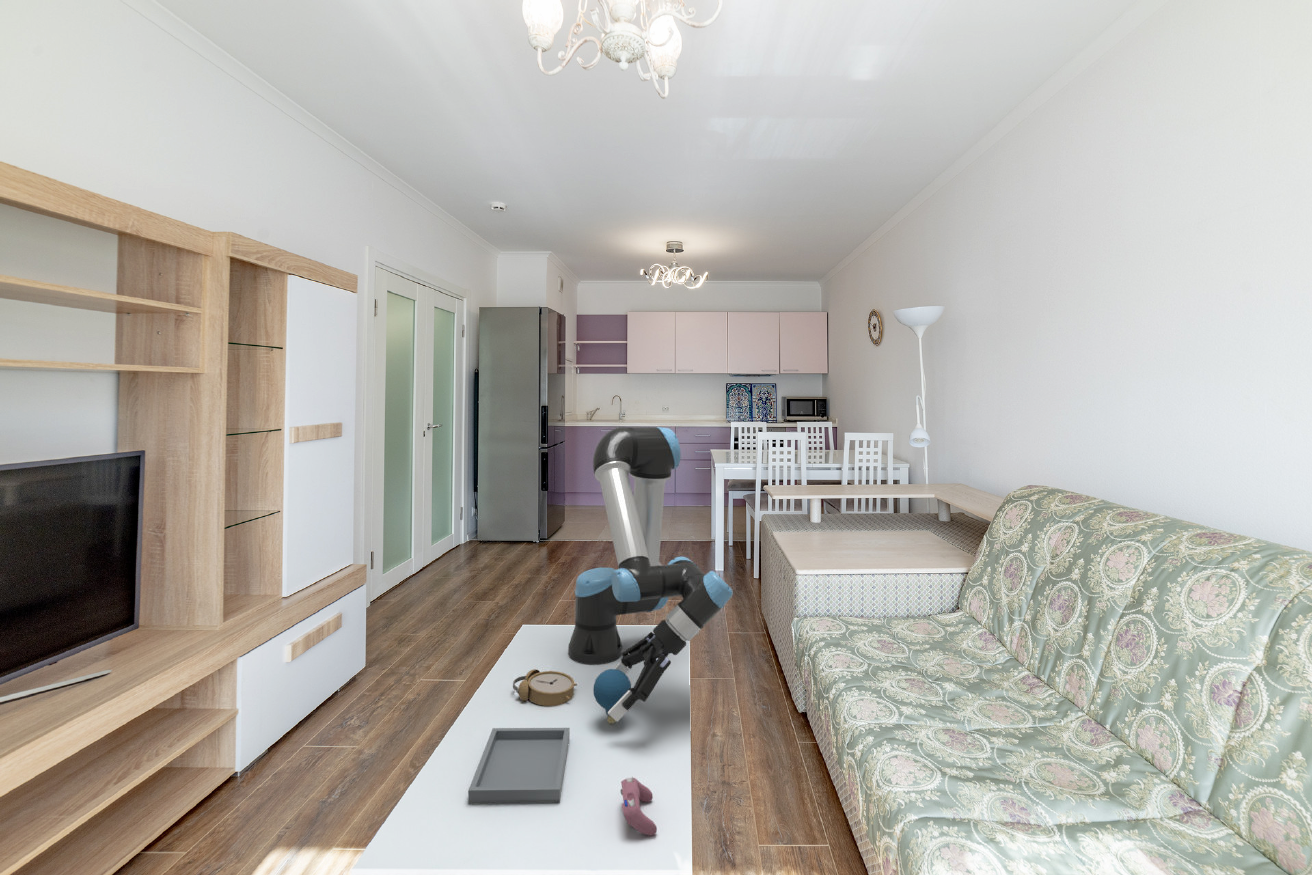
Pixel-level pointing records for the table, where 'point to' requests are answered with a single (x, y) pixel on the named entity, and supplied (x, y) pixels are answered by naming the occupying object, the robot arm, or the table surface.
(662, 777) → the table surface
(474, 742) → the table surface
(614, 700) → the light bulb
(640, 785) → the video game controller
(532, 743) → the tray
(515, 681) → the alarm clock
